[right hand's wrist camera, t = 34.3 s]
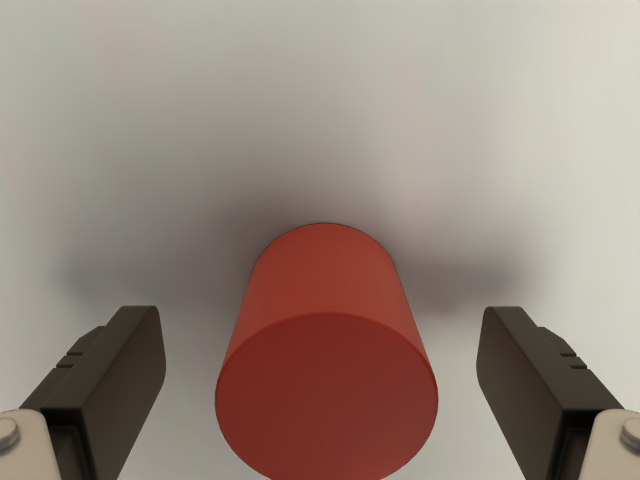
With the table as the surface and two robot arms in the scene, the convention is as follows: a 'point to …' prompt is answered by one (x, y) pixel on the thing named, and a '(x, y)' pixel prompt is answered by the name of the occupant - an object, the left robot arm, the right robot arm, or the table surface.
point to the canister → (325, 363)
